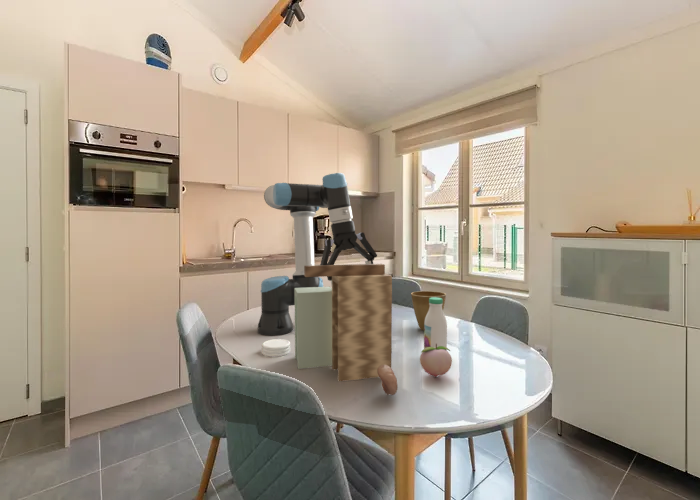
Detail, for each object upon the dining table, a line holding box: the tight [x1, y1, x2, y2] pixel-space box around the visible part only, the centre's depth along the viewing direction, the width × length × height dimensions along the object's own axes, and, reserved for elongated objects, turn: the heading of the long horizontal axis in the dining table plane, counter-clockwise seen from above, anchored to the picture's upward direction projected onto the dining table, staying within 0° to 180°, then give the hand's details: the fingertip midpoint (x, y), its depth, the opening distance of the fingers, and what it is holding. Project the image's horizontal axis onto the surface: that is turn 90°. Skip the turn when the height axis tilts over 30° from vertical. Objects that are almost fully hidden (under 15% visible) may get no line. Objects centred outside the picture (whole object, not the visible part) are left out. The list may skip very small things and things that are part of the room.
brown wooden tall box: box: [331, 273, 393, 382], centre depth 104 cm, size 16×10×30 cm, turn 104°
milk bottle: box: [423, 297, 448, 349], centre depth 119 cm, size 8×8×20 cm
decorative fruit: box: [419, 344, 453, 378], centre depth 101 cm, size 9×8×10 cm
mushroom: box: [377, 365, 398, 396], centre depth 89 cm, size 8×6×8 cm
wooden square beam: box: [304, 263, 386, 278], centre depth 102 cm, size 24×3×3 cm, turn 104°
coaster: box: [261, 338, 291, 358], centre depth 123 cm, size 10×10×4 cm
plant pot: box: [410, 290, 447, 332], centre depth 151 cm, size 15×15×16 cm
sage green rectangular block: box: [294, 286, 332, 370], centre depth 113 cm, size 12×10×24 cm
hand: (353, 284), depth 113 cm, fingers open, 13 cm apart
